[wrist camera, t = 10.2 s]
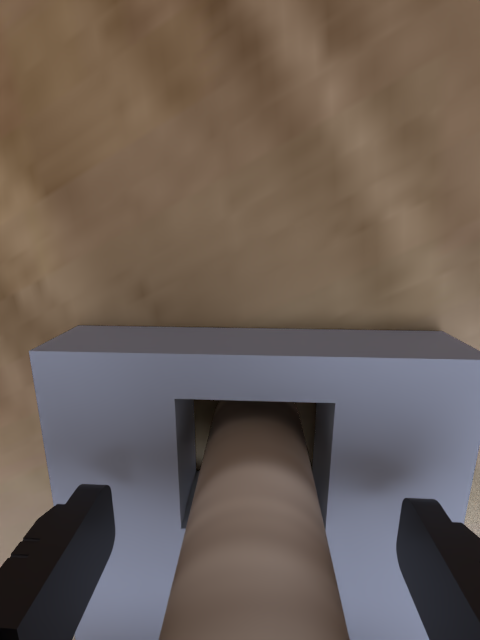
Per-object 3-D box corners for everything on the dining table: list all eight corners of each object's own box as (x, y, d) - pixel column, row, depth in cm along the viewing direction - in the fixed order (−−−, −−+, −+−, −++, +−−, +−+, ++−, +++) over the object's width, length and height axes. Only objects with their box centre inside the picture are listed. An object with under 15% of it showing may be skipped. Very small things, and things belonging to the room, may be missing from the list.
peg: (212, 381, 14) (104, 732, 4) (302, 383, 14) (409, 755, 4) (214, 458, 15) (129, 894, 5) (298, 461, 14) (378, 920, 5)
